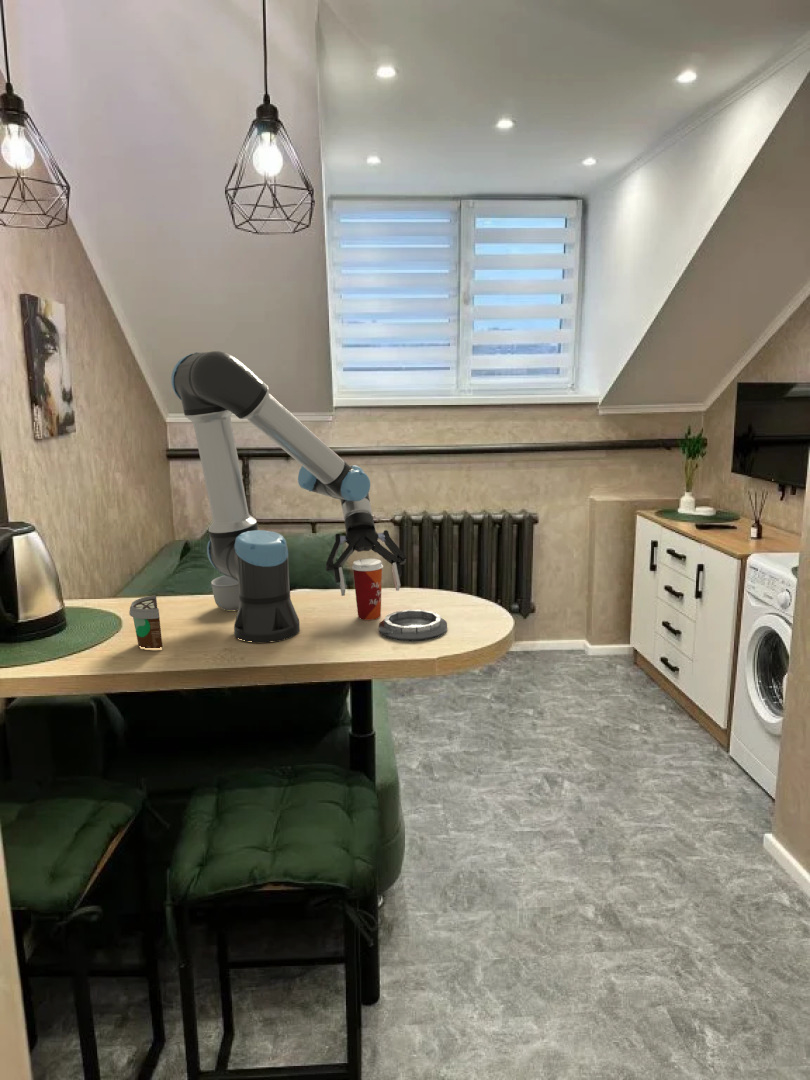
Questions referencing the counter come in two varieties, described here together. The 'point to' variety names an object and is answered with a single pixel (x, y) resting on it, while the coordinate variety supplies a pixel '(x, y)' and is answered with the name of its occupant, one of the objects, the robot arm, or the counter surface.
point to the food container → (147, 622)
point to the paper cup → (368, 587)
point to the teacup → (226, 592)
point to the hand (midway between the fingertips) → (371, 590)
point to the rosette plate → (412, 625)
